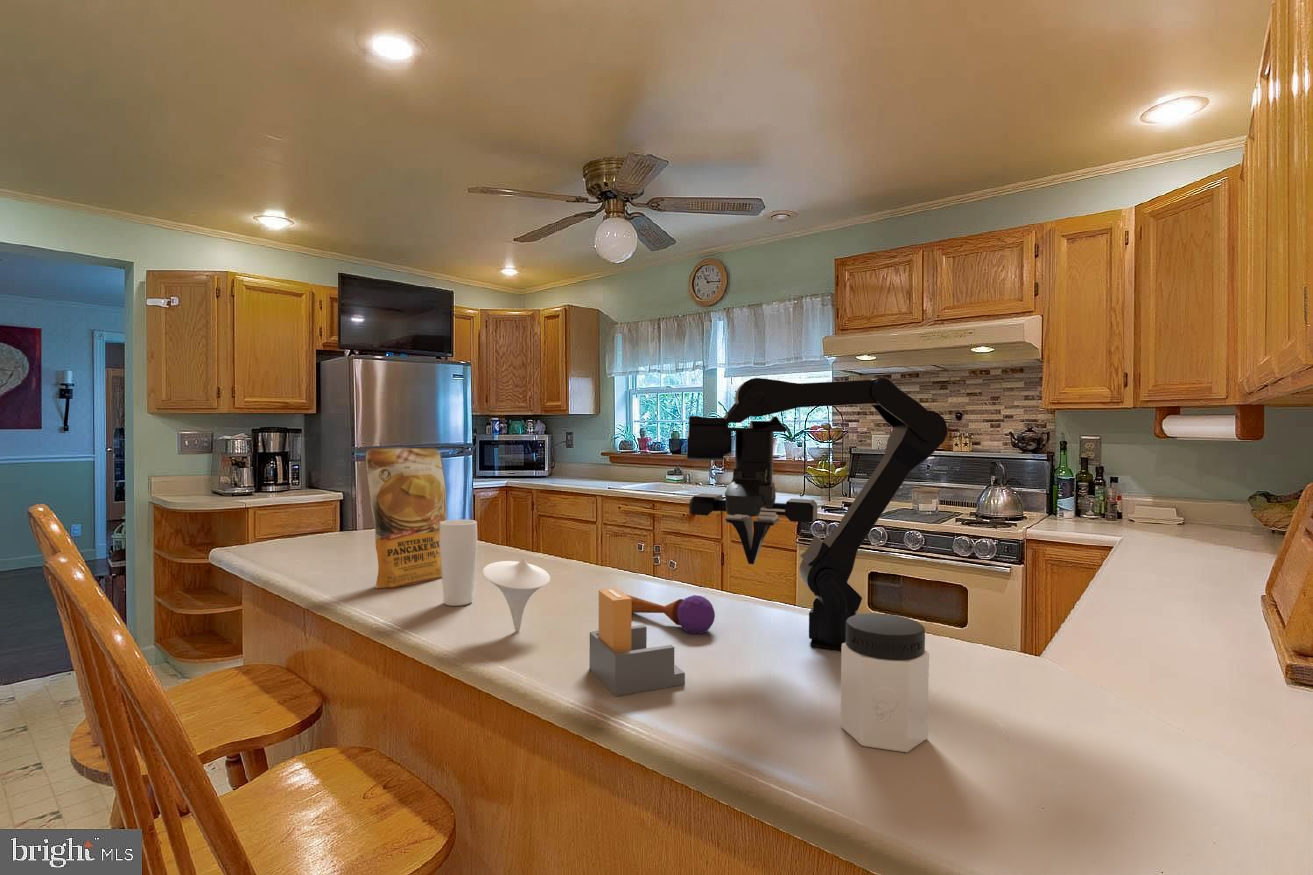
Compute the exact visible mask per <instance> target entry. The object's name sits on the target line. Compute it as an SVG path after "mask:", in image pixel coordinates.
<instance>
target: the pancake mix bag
mask: <svg viewBox="0 0 1313 875" xmlns="http://www.w3.org/2000/svg"><path fill="white" fill-rule="evenodd" d="M437 450H438V448H437V447H413V448H412V447H379V448H378V447H377V448H370V449H368V450H367V451H366V452H364V454H365V455H364V458H365V460H364V462H365V474H366V476H365V477H366V480H367V485H368V492H369V493H368V494H369V502H370V505H369V506H370V508H371V513H372V514H371V515H372V518H373V523H374V534H375V535H374V539H375V540H374V541H375V544H374V545H375V551H376V556H377V564H378V566H377V567H378V568H377V576H376V581H375V586H374V588H375V589H393V588H398V587H405V586H410V585H415V584H419V583H424V582H428V581H429V582H430V581H434V580H438V579H439V580H440V579H442V572H441V561H440V550H439V523H440V522H442V521H447V518H448V517H447V516H448V515H447V514H448V504H447V486H446V478H445V473H444V472H445V471H444V462H443V459H442V458H443V457H442V452H441V451H437Z"/></svg>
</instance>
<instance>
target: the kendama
mask: <svg viewBox="0 0 1313 875" xmlns="http://www.w3.org/2000/svg"><path fill="white" fill-rule="evenodd" d="M626 595H627V596H629V597H630V598H632V614H633V613H635V614H637V613H638V614H639V613H640V614H643V613H644V614H646V613H647V614H664V615H665V616H666V617H667V618H668V619H670V620H671V621H672V622H673V623H674V624H675V625H677V626H680V627H681V628H682V629H683V630H685V631H686V632H687V633H690V634H695V635H699V634H702V633H705V632H708V630H709V629H710V628H711V627H712V626H713V623H714V622H715V618H716V614H715V610H714V607H713V604H712V603H711V601H710V600H709V599H707V598H706V597H705V596H701V595H697V594H694V595H693V594H692V595H691V596H688V597H685V598H684V599H682V598H679V599H677V600H675V601H672V602H671V603H668V604H666V605H662V604H658V603H655V602H652V601H648V600H645V599H643V598H638V597H635V596H632V595H630V594H626Z"/></svg>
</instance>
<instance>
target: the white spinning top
mask: <svg viewBox="0 0 1313 875" xmlns="http://www.w3.org/2000/svg"><path fill="white" fill-rule="evenodd" d="M482 576H483V577H484V578H485V579H486V580H487V581H489V582H490V583H491V584H493V585H494V586H495V587H496V588H498V589H499V591H500V592H501V593H502V595H503V596H504V598H505V600H506V602H507V605H508V608H509V611H510V614H511V615H510V616H511V620H512V623H513V627H514V631H515V632H517V633H518V632H520V630H521V625H522V620H523V614H524V611H525V607H526V605H527V604H528V601H529V599H531V597H532V596H533V594H534V593H536V592H537V591H539V589H541V588H543V587H545V586H547V585H548V584H549V583H550V582H551V575H550V574H549V573H548V571H546V570H545V569H543V568H541V567H539V566H538V565H535V564H531V563H529V562H527V561H526V558H525V557H522V558H521V560H520V561H514V560H501V561H495V562H491V563H490V564H487V565H486V566H484V568H483V569H482Z"/></svg>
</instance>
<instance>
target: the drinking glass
mask: <svg viewBox="0 0 1313 875" xmlns="http://www.w3.org/2000/svg"><path fill="white" fill-rule="evenodd" d="M439 550H440V561H441V572H442V578H441V580H442V592H443V593H442V599H443V600H442V601H443V604H444V605H446V606H450V607H461V606H467V605H469V604H472V603H473V601H474V589H475V588H474V587H475V575H476V574H475V573H476V565H477V564H476V563H477V550H478V521H477V520H473V519H463V518H462V519H460V518H458V519H449V520H447V521H442V522H440V523H439Z"/></svg>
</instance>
